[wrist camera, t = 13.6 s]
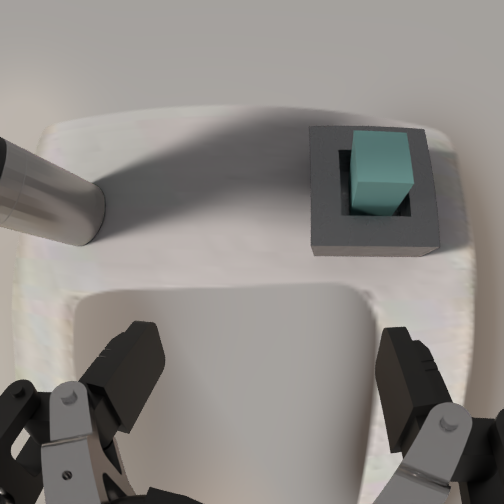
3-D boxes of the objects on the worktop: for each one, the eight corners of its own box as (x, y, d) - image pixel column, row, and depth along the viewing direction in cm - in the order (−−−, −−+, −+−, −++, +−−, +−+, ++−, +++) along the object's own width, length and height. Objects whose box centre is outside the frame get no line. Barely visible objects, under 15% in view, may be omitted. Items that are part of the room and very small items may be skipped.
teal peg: (349, 219, 29) (357, 181, 19) (348, 181, 29) (353, 130, 20) (388, 220, 28) (413, 183, 18) (386, 181, 28) (406, 132, 19)
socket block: (314, 256, 30) (310, 245, 24) (313, 154, 31) (309, 126, 26) (420, 256, 27) (439, 247, 21) (410, 156, 29) (424, 129, 23)
